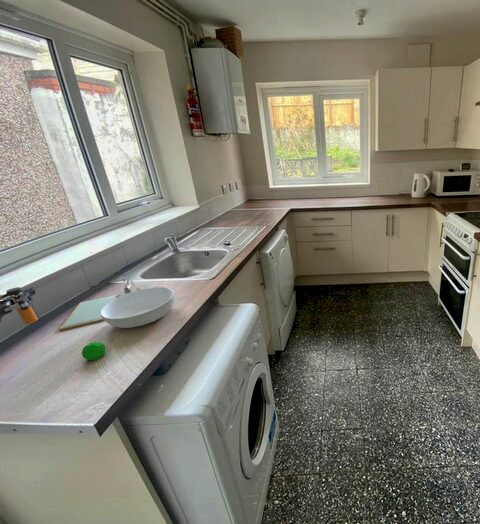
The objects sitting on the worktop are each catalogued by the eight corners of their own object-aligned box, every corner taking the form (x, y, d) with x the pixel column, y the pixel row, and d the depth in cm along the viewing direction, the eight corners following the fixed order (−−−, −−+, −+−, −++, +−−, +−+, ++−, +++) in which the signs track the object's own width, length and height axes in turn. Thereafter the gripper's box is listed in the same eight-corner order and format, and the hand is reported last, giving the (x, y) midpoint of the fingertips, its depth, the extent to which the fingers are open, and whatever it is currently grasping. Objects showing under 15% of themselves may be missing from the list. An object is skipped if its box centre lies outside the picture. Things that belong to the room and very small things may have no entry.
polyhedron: (95, 364, 79) (88, 350, 77) (81, 363, 79) (73, 349, 78) (112, 352, 83) (106, 339, 81) (98, 351, 84) (92, 337, 82)
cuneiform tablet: (123, 278, 119) (118, 289, 109) (134, 275, 121) (130, 286, 111) (129, 290, 121) (124, 302, 112) (139, 287, 123) (136, 299, 113)
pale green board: (60, 332, 94) (59, 328, 94) (81, 305, 111) (79, 302, 111) (105, 321, 99) (104, 318, 99) (118, 297, 116) (117, 294, 115)
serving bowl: (90, 337, 91) (82, 319, 88) (138, 303, 110) (131, 287, 107) (154, 335, 90) (147, 317, 87) (190, 301, 109) (185, 285, 106)
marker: (22, 325, 78) (3, 292, 74) (27, 320, 80) (9, 288, 76) (35, 322, 79) (17, 290, 75) (39, 317, 81) (22, 286, 77)
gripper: (-10, 307, 63) (49, 275, 79) (-88, 317, 61) (-11, 282, 77) (7, 335, 66) (61, 299, 82) (-67, 345, 64) (3, 306, 80)
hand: (25, 291), depth 79 cm, fingers closed on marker, 2 cm apart
